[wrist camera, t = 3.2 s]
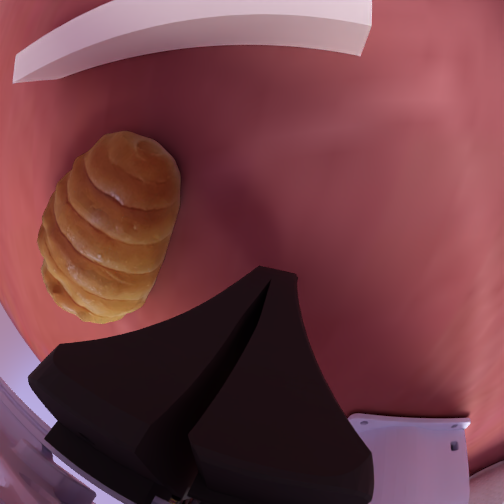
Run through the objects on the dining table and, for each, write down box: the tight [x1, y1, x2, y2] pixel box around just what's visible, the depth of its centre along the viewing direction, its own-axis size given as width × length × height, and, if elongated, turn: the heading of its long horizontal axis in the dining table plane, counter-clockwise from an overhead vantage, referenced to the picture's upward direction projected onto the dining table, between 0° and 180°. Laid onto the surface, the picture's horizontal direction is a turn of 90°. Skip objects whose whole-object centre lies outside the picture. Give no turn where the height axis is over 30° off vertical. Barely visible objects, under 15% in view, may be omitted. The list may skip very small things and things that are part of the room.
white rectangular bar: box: [13, 0, 372, 84], centre depth 6 cm, size 14×2×3 cm, turn 85°
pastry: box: [37, 131, 181, 324], centre depth 11 cm, size 9×7×4 cm
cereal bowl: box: [468, 460, 504, 504], centre depth 12 cm, size 17×17×7 cm
